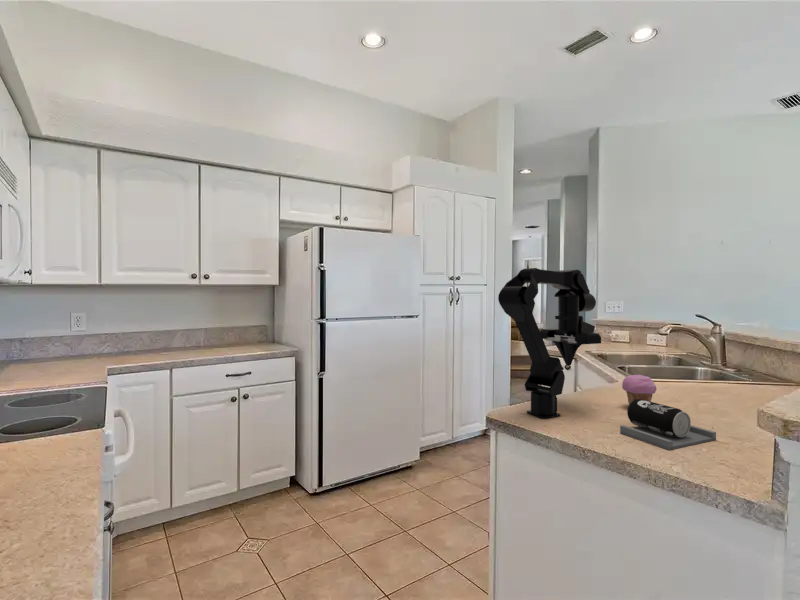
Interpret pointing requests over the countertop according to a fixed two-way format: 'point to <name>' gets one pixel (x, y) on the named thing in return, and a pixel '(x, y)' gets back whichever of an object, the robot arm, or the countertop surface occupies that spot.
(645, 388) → the cupcake
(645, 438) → the grey tray
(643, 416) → the beverage can
